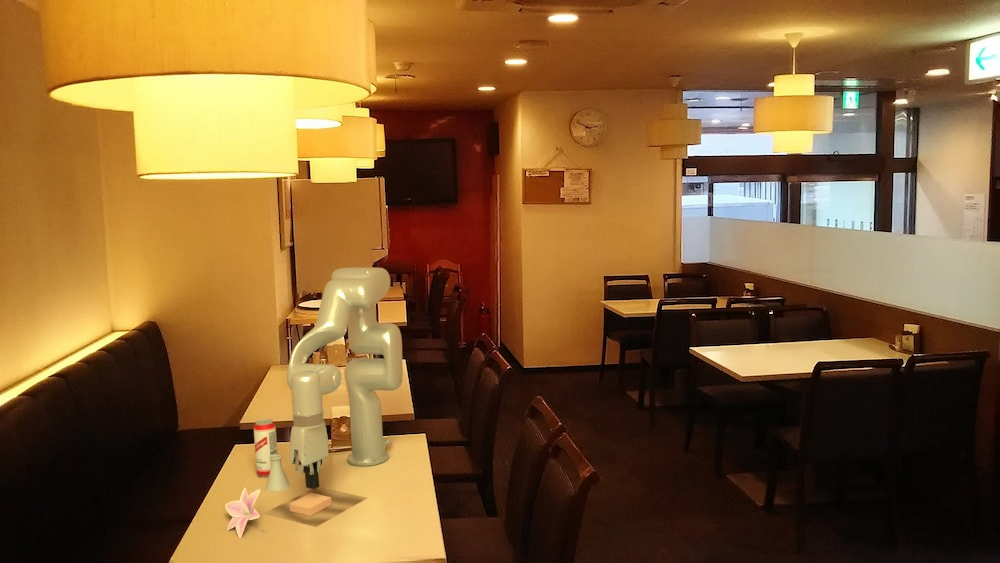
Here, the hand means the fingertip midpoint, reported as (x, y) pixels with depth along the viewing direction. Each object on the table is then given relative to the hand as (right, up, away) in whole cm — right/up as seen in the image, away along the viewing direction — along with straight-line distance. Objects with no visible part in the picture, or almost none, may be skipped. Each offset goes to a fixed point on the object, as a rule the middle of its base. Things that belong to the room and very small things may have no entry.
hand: (312, 487), depth 213 cm
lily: (-15, -9, -8) cm, 19 cm away
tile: (+2, -4, +3) cm, 5 cm away
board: (+1, -6, +2) cm, 7 cm away
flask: (-13, -5, +16) cm, 21 cm away
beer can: (-20, -4, +28) cm, 35 cm away
